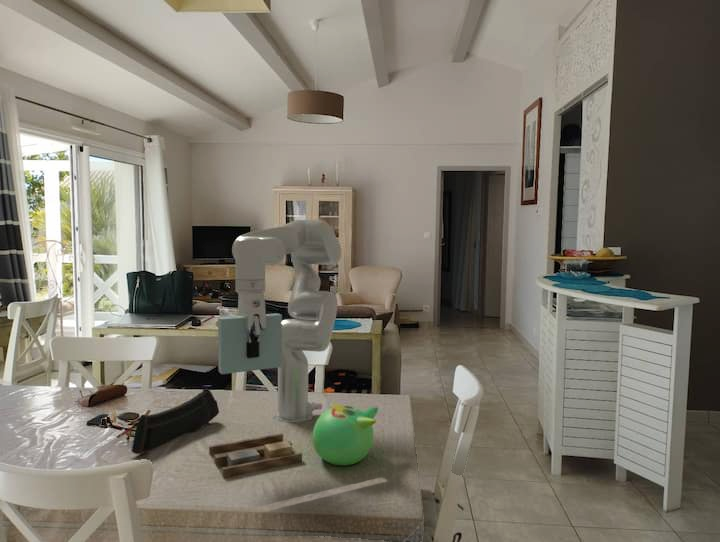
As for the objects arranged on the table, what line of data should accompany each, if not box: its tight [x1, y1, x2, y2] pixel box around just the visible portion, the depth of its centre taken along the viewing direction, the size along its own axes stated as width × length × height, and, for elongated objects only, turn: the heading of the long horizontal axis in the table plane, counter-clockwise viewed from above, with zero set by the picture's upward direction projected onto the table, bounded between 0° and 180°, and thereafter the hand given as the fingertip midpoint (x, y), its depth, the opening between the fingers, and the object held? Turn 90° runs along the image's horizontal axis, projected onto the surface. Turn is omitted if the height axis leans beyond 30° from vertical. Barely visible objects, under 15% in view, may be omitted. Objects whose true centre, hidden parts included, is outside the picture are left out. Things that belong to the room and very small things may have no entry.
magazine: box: [131, 388, 220, 455], centre depth 149 cm, size 17×3×30 cm
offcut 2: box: [264, 440, 293, 459], centre depth 135 cm, size 6×4×4 cm, turn 118°
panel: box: [217, 312, 283, 375], centre depth 137 cm, size 16×3×14 cm, turn 118°
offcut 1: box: [227, 449, 260, 467], centre depth 131 cm, size 7×4×3 cm, turn 118°
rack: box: [208, 432, 303, 480], centre depth 136 cm, size 20×16×3 cm
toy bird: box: [312, 403, 379, 467], centre depth 136 cm, size 18×17×15 cm
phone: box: [86, 413, 109, 427], centre depth 161 cm, size 8×1×15 cm
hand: (250, 355), depth 137 cm, fingers closed on panel, 3 cm apart
